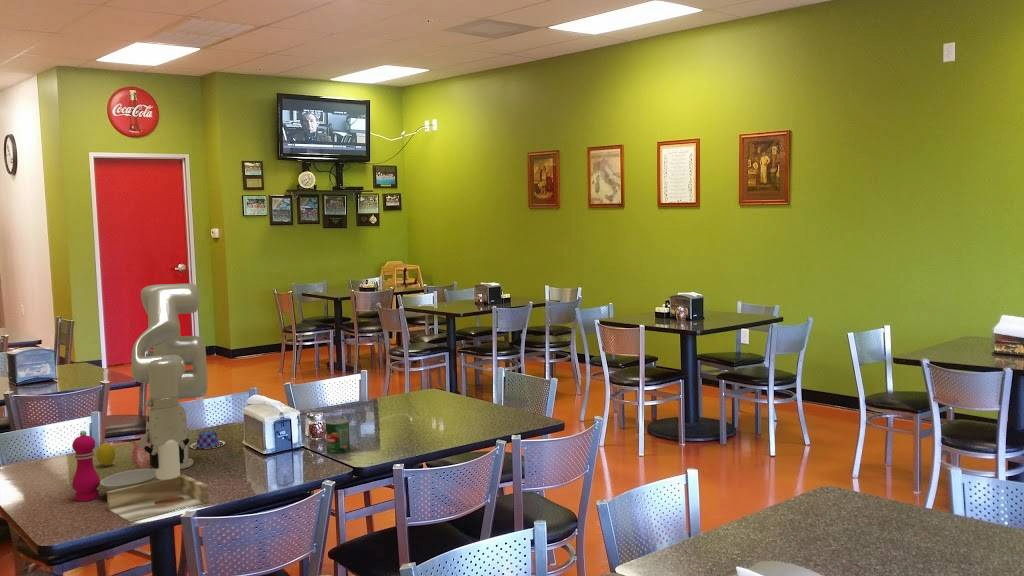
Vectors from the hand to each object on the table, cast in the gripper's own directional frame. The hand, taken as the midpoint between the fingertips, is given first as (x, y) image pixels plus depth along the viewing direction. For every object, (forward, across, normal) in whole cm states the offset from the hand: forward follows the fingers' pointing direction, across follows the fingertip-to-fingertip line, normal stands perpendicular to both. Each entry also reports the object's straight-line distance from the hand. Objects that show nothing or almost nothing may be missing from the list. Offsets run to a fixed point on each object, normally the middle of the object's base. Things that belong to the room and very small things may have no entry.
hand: (167, 464), depth 245 cm
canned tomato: (+11, +63, +9) cm, 64 cm away
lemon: (+11, +2, +53) cm, 54 cm away
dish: (+11, -4, +17) cm, 21 cm away
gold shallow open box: (+11, -3, -1) cm, 11 cm away
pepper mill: (+11, -15, +22) cm, 29 cm away
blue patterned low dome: (+11, +36, +53) cm, 65 cm away
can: (+4, 0, 0) cm, 4 cm away
